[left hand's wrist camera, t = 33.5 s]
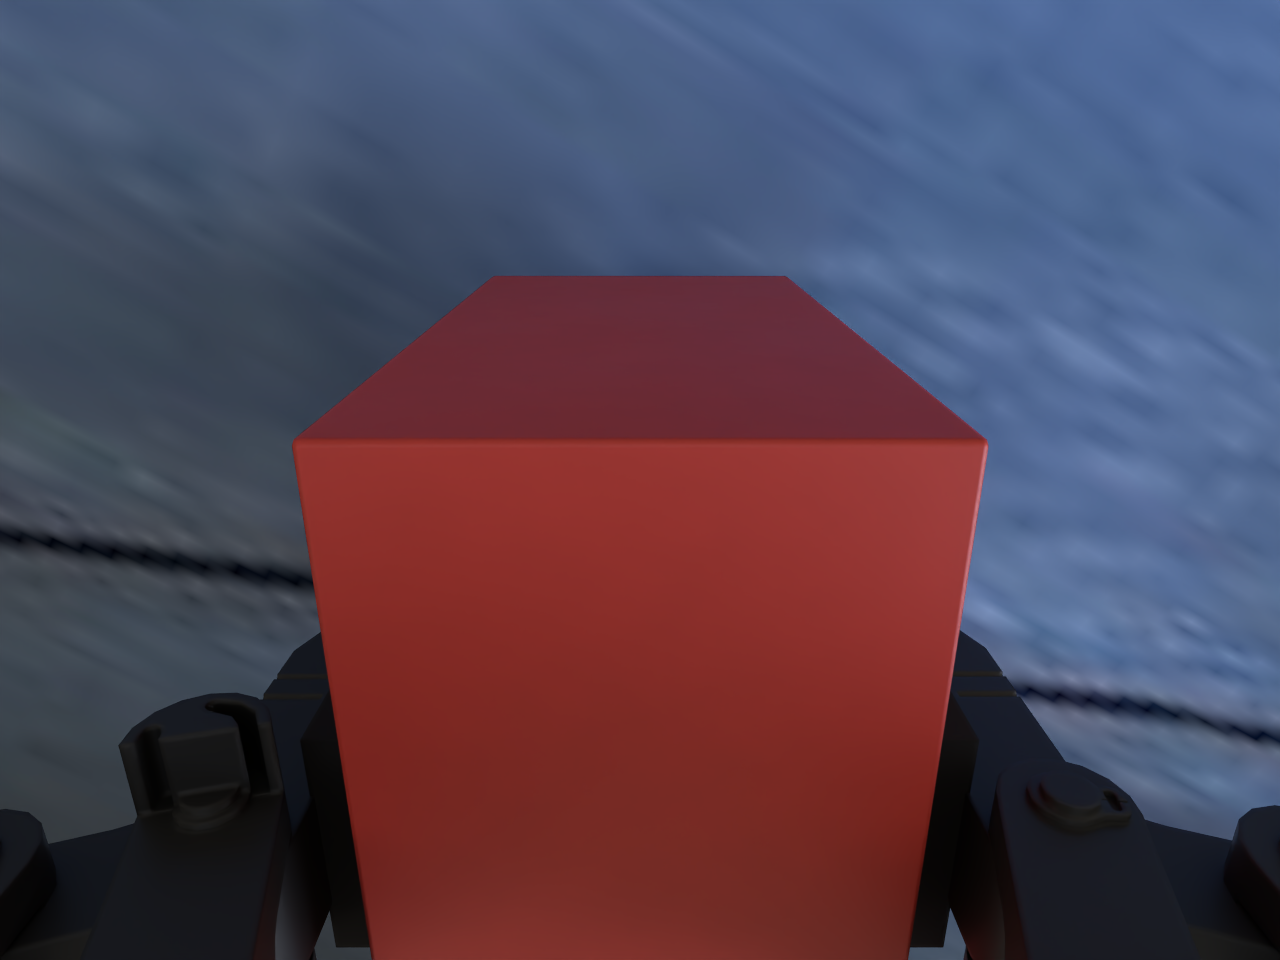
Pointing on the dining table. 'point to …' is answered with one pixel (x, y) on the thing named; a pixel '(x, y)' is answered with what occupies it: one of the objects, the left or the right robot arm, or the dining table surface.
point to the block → (640, 624)
